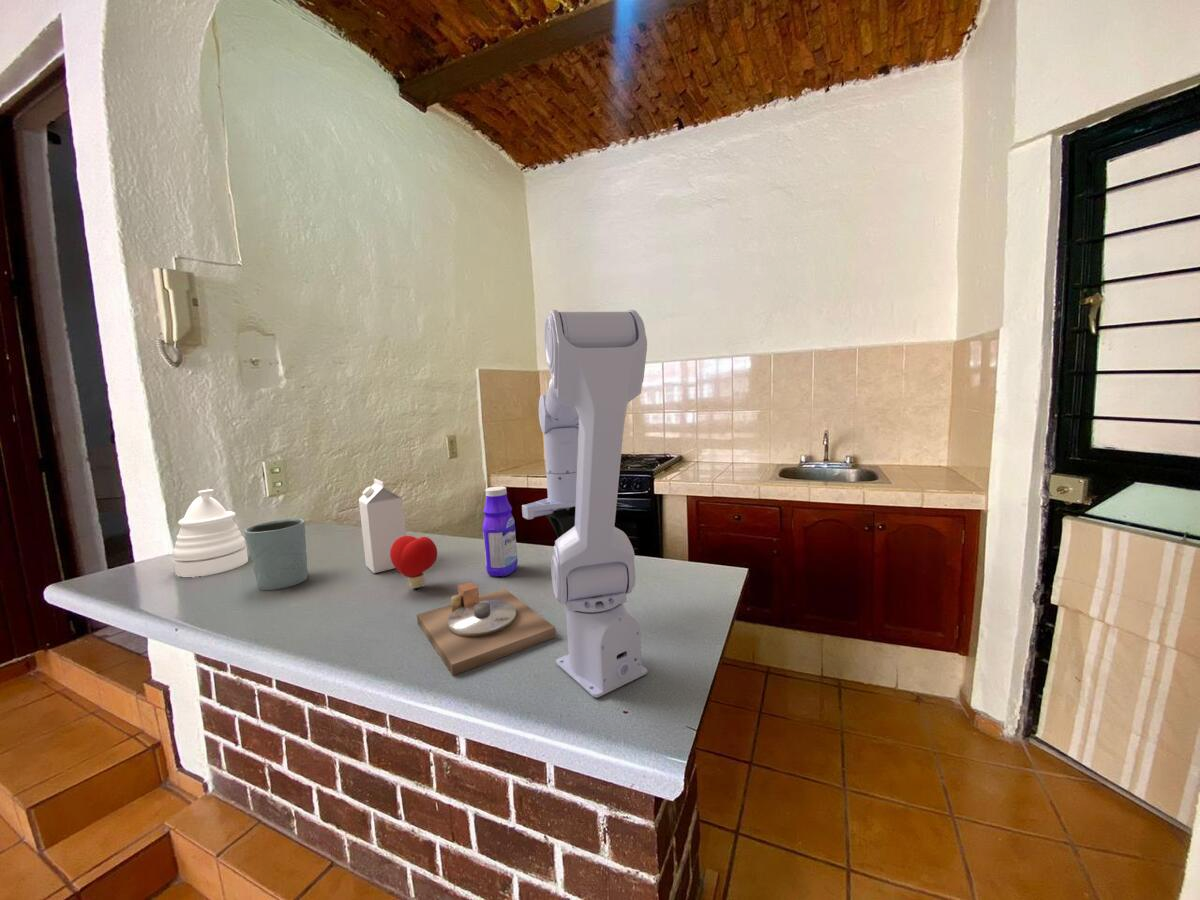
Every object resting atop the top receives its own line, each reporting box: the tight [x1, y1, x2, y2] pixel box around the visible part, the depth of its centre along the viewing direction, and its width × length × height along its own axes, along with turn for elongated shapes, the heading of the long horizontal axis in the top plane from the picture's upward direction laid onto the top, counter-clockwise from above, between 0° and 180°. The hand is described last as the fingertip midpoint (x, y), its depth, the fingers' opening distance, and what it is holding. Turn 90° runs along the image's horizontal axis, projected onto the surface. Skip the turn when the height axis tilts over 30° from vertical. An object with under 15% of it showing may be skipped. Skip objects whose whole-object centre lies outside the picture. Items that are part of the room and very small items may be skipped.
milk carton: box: [358, 478, 407, 574], centre depth 101 cm, size 7×7×19 cm
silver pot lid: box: [448, 581, 516, 637], centre depth 72 cm, size 12×10×3 cm
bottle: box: [482, 485, 519, 578], centre depth 94 cm, size 7×6×17 cm
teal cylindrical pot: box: [244, 518, 309, 591], centre depth 95 cm, size 10×10×12 cm
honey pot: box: [172, 488, 249, 578], centre depth 106 cm, size 13×13×18 cm
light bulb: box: [390, 535, 438, 590], centre depth 88 cm, size 9×7×10 cm
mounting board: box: [416, 588, 557, 677], centre depth 71 cm, size 18×15×4 cm
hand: (569, 554), depth 75 cm, fingers closed
